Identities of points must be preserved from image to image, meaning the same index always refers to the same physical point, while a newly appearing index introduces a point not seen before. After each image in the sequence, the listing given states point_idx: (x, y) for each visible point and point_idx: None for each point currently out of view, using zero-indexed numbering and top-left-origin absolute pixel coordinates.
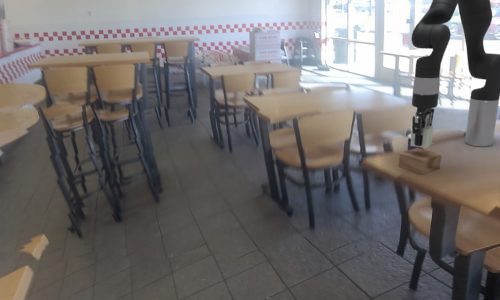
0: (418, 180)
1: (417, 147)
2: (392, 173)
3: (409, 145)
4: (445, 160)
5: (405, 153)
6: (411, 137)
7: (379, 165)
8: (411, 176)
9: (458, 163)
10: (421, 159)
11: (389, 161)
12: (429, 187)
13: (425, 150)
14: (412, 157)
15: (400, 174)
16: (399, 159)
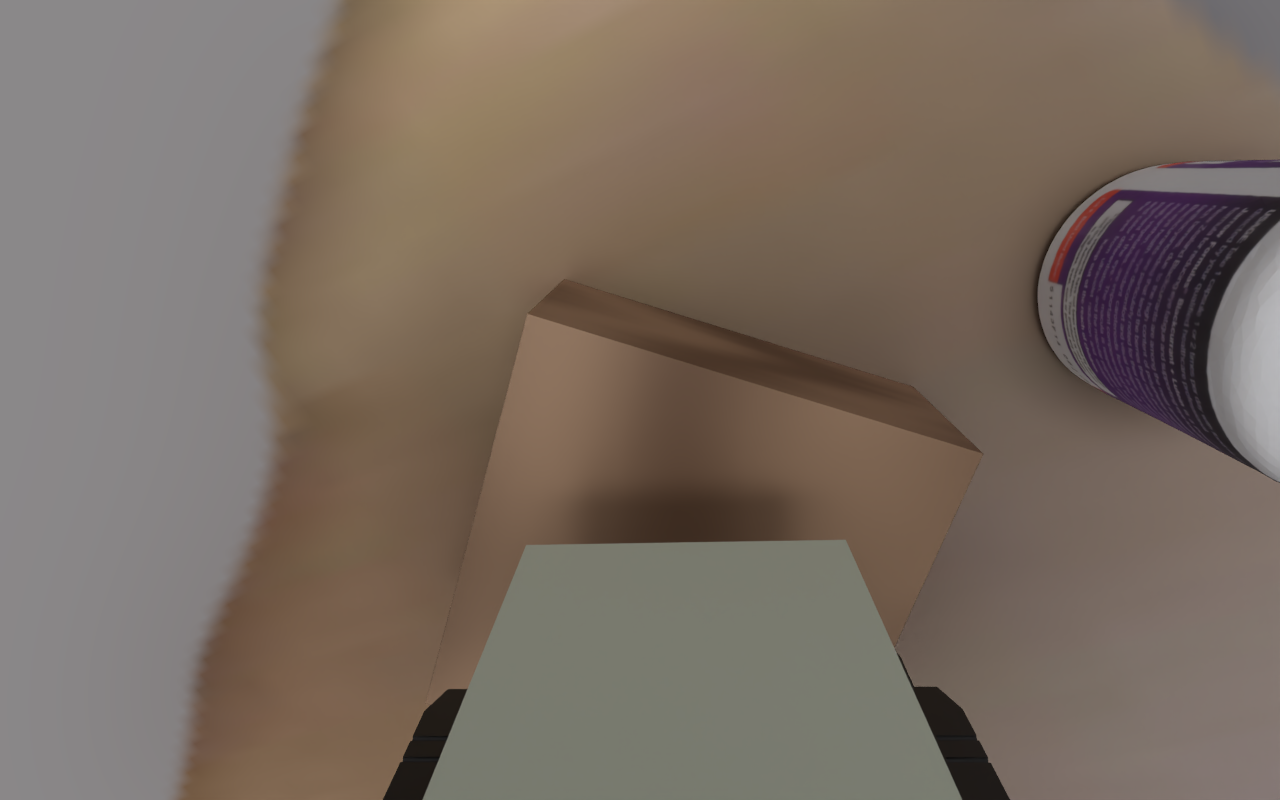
0: (304, 612)
1: (1130, 385)
2: (297, 307)
3: (1151, 245)
4: (1092, 666)
5: (578, 394)
6: (488, 653)
7: (447, 26)
8: (358, 519)
9: (1048, 795)
10: (462, 669)
11: (686, 78)
12: (215, 740)
13: (891, 600)
14: (467, 544)
15: (332, 399)
16: (545, 298)
